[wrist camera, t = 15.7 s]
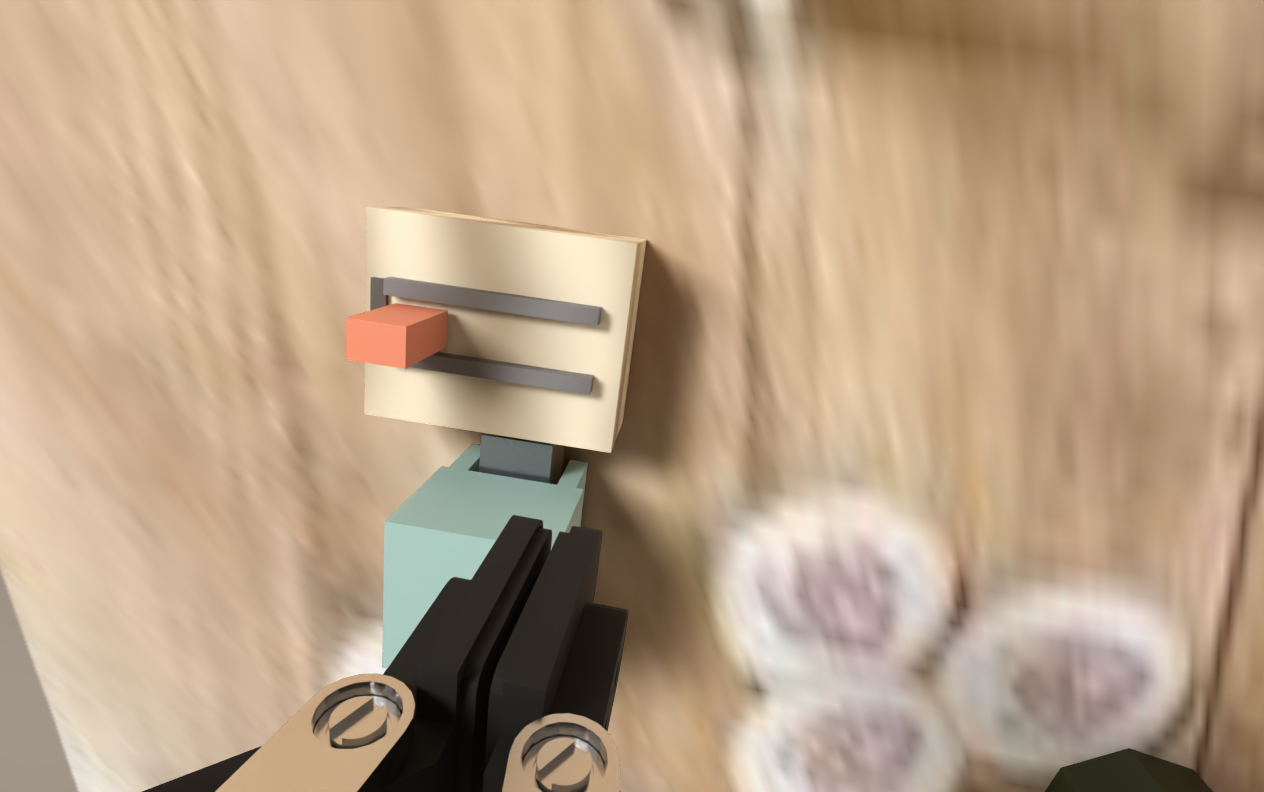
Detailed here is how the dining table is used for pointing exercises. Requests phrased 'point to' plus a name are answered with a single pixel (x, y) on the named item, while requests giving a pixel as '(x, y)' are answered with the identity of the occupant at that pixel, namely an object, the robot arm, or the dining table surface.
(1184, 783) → the wine bottle
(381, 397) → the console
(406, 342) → the orange clay brick
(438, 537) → the carriage
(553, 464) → the rail
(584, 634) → the robot arm
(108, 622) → the dining table surface
